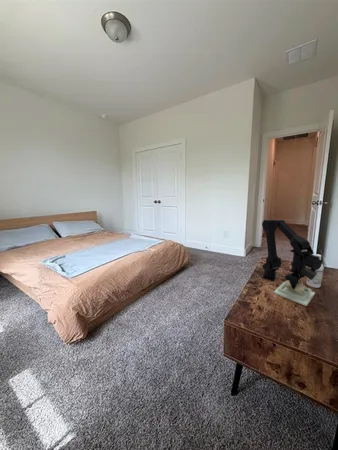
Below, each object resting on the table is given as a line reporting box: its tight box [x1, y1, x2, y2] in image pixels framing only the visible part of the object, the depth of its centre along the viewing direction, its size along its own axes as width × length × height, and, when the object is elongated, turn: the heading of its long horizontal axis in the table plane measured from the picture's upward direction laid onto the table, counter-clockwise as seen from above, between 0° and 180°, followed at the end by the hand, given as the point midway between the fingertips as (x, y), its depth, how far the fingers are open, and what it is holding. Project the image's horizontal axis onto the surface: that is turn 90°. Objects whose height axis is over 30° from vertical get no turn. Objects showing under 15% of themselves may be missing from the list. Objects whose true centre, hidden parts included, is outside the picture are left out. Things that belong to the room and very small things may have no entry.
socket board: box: [273, 280, 316, 307], centre depth 109 cm, size 16×16×3 cm
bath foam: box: [306, 253, 325, 289], centre depth 115 cm, size 7×7×20 cm
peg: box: [285, 280, 306, 294], centre depth 108 cm, size 8×4×4 cm, turn 27°
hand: (294, 287), depth 108 cm, fingers closed on peg, 4 cm apart
